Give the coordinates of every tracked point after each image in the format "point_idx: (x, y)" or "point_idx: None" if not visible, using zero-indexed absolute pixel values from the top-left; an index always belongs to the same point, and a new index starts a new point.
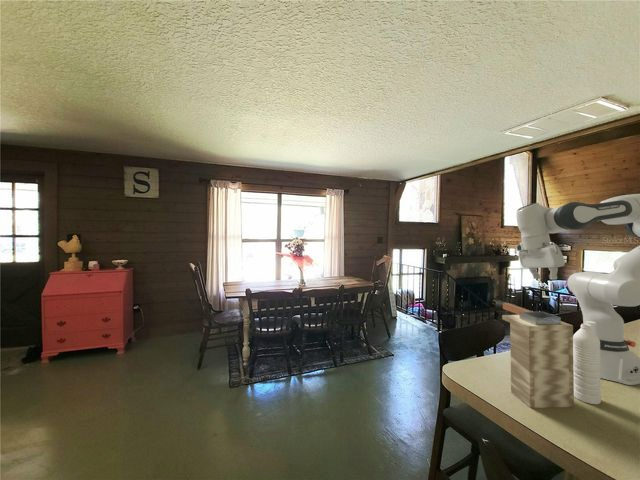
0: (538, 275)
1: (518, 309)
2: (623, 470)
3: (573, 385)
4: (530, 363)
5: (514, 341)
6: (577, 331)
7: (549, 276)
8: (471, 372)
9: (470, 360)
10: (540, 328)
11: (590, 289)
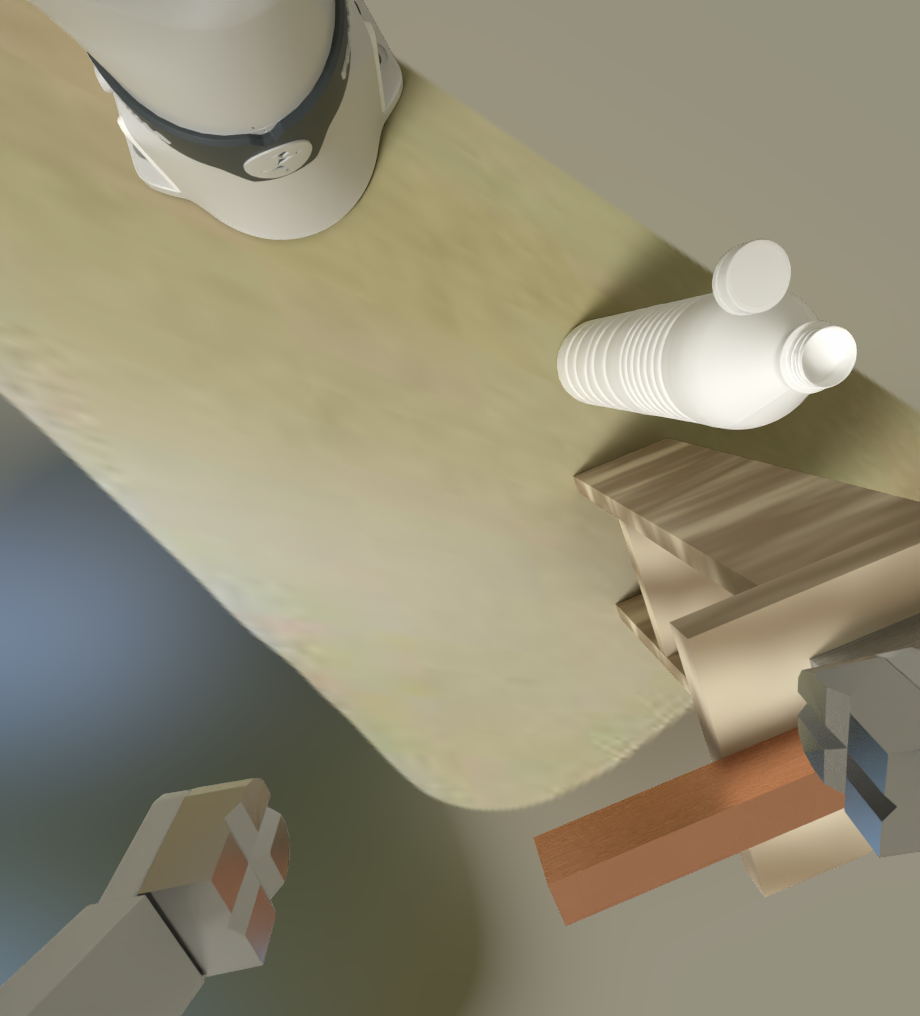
0: (242, 869)
1: (763, 834)
2: None
3: (712, 449)
4: None
5: None
6: (763, 407)
7: (873, 814)
8: (494, 731)
9: (365, 727)
10: None
11: None
